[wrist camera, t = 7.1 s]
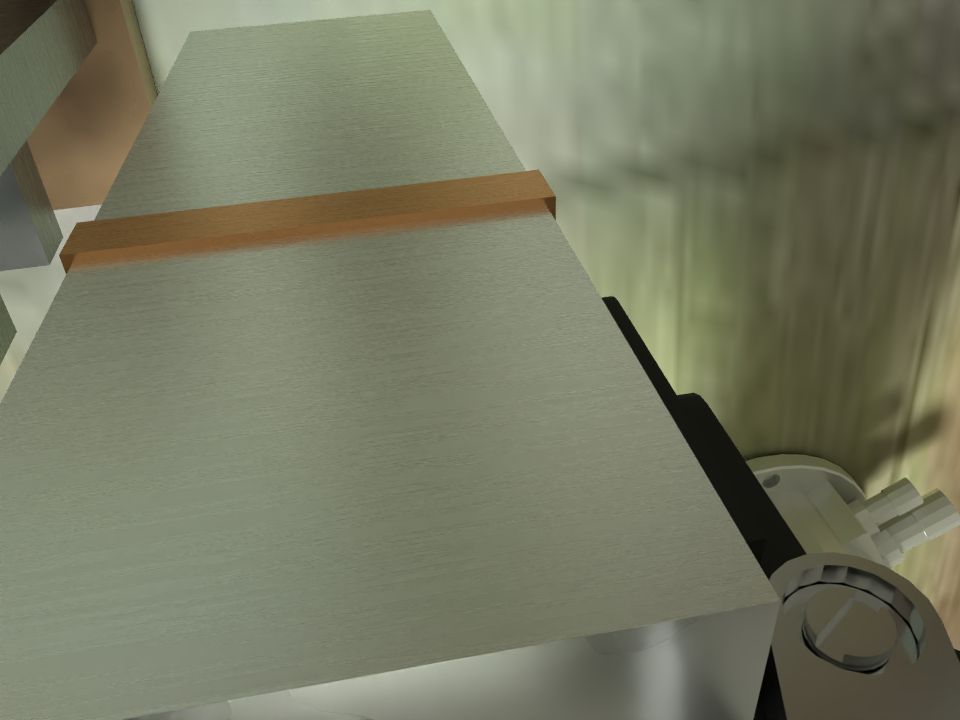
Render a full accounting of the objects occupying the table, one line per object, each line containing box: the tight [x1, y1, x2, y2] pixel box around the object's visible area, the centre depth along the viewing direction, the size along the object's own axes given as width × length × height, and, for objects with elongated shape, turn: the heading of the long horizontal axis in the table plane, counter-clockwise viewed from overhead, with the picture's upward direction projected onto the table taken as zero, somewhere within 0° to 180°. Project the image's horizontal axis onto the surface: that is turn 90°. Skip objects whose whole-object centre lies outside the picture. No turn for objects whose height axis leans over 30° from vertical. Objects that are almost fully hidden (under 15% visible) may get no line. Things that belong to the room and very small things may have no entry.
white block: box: [0, 10, 781, 720], centre depth 12 cm, size 5×5×16 cm
